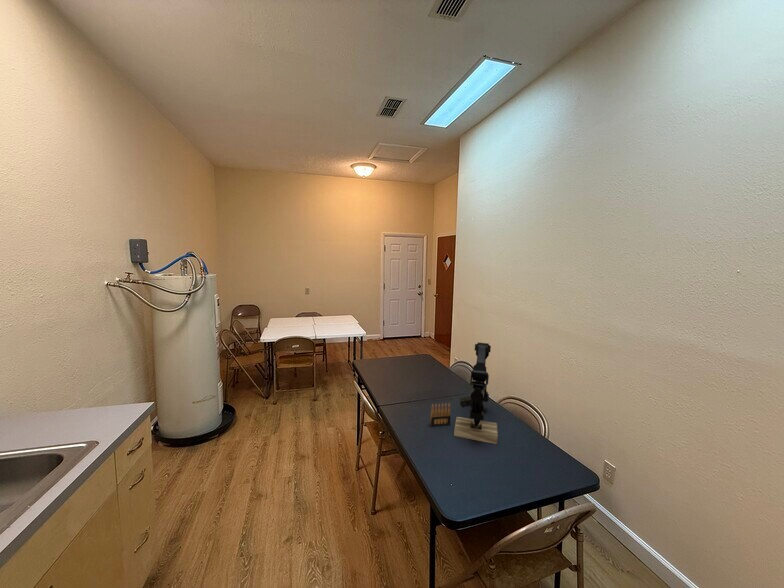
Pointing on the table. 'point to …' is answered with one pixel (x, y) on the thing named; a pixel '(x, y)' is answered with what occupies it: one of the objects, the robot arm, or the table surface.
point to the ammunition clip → (440, 415)
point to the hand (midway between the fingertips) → (476, 423)
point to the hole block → (476, 430)
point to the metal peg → (474, 424)
